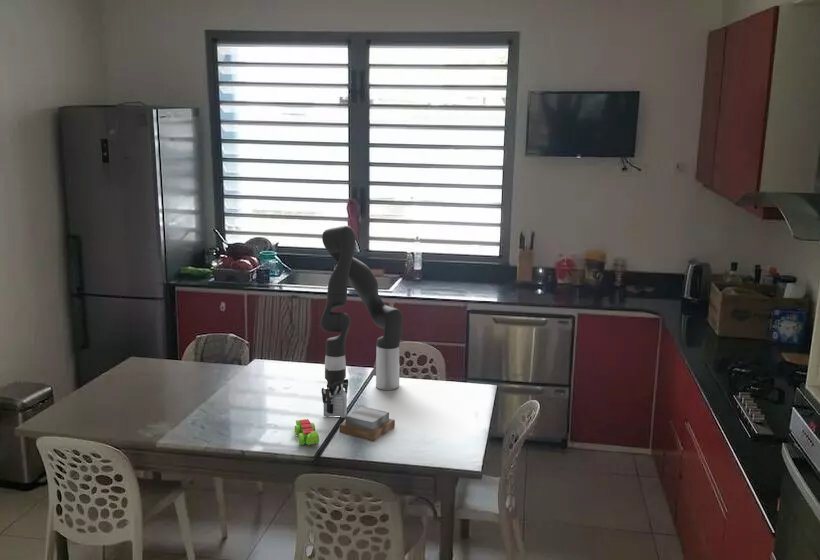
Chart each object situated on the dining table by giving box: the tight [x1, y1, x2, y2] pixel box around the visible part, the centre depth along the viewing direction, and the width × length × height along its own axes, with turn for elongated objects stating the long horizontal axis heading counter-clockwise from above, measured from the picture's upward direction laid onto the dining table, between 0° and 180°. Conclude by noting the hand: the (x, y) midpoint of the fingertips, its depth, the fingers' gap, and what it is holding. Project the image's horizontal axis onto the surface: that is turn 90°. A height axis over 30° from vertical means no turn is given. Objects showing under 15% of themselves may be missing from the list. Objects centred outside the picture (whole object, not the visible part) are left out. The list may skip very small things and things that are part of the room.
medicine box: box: [323, 391, 348, 419], centre depth 280 cm, size 8×4×9 cm, turn 84°
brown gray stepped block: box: [338, 405, 396, 442], centre depth 268 cm, size 14×14×6 cm
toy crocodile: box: [294, 418, 320, 446], centre depth 260 cm, size 20×7×6 cm, turn 17°
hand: (335, 410), depth 281 cm, fingers closed on medicine box, 5 cm apart
